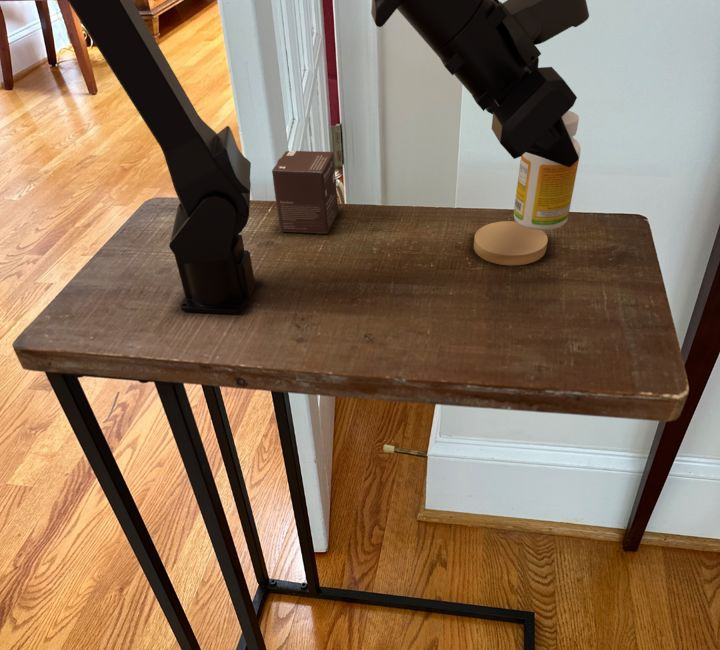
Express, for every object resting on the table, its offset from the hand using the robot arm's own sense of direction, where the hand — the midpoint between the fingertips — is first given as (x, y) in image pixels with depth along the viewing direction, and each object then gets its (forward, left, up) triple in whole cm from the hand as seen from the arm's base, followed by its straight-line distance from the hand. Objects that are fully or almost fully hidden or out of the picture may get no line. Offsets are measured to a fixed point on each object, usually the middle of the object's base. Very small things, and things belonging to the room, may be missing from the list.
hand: (565, 150), depth 64 cm
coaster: (-4, +5, -12) cm, 14 cm away
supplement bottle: (-1, 0, -7) cm, 7 cm away
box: (-28, +9, -12) cm, 32 cm away
